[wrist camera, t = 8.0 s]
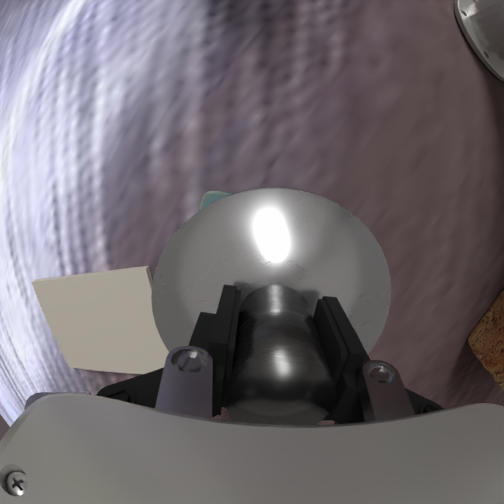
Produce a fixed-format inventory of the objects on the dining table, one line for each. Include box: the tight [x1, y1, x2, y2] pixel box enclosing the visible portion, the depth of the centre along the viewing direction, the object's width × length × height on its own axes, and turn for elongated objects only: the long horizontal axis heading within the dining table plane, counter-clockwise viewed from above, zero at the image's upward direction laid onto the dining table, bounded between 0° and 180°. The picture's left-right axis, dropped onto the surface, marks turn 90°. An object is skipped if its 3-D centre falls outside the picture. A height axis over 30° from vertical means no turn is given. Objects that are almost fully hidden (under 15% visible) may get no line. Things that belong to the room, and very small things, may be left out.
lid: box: [151, 187, 391, 425], centre depth 10 cm, size 11×11×6 cm
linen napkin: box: [32, 266, 169, 374], centre depth 25 cm, size 16×12×1 cm
